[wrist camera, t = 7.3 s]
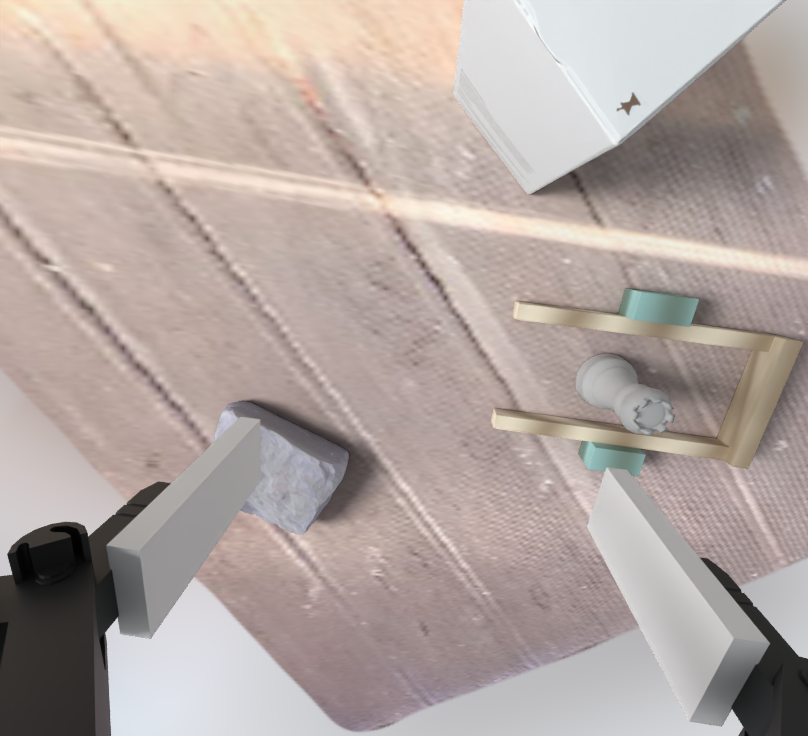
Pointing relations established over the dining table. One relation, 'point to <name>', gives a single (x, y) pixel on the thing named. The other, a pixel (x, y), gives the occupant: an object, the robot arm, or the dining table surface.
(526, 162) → the supplement box
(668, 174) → the dining table surface
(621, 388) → the rook chess piece
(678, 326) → the beam track
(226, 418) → the stone block
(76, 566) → the robot arm
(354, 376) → the dining table surface
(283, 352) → the dining table surface
